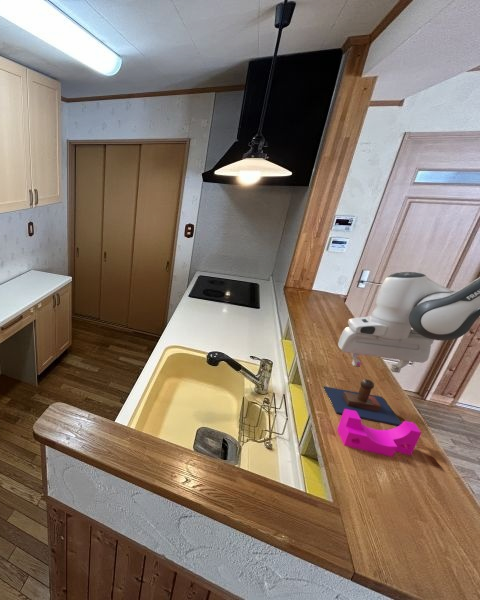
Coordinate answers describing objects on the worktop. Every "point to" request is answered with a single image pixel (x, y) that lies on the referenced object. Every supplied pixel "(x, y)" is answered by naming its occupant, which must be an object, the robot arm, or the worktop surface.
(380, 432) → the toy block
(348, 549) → the worktop surface
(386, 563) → the worktop surface
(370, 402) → the stamp
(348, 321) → the robot arm
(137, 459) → the worktop surface
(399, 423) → the ink pad
